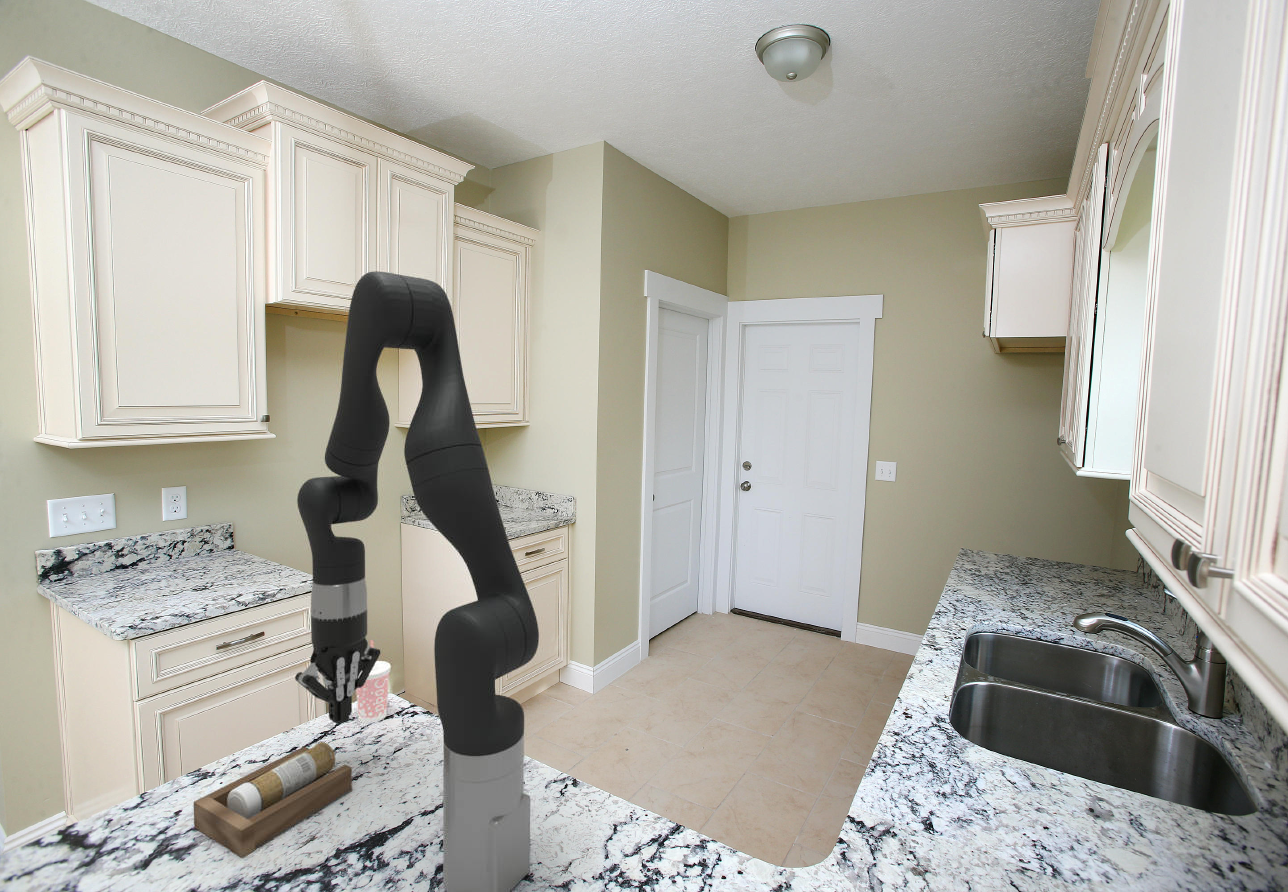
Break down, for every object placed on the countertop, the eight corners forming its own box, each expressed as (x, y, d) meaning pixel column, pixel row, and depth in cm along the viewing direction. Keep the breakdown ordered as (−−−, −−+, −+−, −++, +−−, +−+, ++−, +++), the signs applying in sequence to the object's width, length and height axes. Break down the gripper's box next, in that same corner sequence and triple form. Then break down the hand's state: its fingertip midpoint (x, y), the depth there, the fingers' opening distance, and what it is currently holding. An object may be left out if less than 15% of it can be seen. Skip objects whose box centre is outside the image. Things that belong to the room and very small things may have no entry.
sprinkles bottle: (312, 746, 93) (221, 795, 80) (329, 736, 91) (239, 785, 79) (323, 775, 92) (233, 829, 79) (341, 765, 90) (252, 819, 78)
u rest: (351, 790, 87) (351, 767, 87) (242, 857, 74) (241, 830, 74) (304, 768, 92) (304, 746, 92) (194, 827, 79) (193, 801, 79)
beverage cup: (359, 729, 104) (358, 649, 103) (349, 715, 108) (348, 639, 107) (395, 717, 108) (395, 641, 107) (384, 704, 112) (384, 631, 111)
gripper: (312, 626, 82) (314, 749, 83) (393, 600, 94) (394, 708, 95) (280, 617, 86) (282, 734, 87) (362, 593, 98) (362, 697, 99)
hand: (340, 720), depth 91 cm, fingers closed
